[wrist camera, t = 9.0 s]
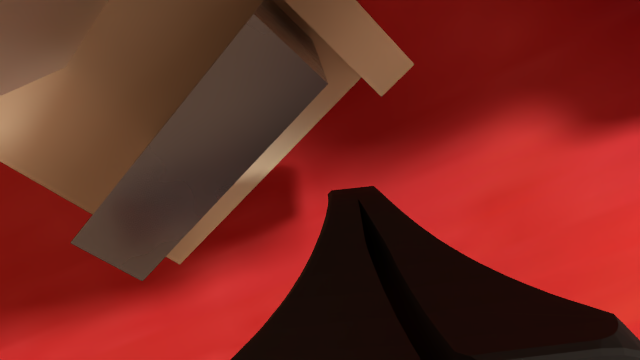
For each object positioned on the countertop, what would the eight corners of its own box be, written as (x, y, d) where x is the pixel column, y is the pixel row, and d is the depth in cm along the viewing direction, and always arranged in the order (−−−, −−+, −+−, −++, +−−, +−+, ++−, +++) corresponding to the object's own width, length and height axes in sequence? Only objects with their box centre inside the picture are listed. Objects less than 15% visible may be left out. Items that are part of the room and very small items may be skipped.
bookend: (312, 39, 10) (328, 83, 6) (190, 177, 12) (142, 281, 8) (267, -5, 9) (254, 13, 6) (145, 147, 11) (70, 242, 7)
